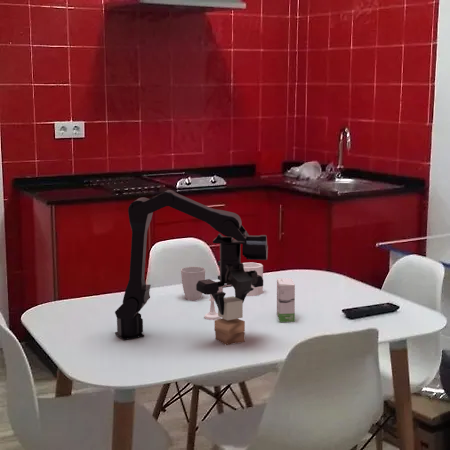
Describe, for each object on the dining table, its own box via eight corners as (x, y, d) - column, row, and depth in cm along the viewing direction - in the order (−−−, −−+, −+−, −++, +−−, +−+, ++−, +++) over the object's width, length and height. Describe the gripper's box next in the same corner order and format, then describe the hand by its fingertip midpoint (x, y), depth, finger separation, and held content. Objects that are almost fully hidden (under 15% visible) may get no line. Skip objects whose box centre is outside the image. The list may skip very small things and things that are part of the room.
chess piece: (211, 314, 238) (211, 283, 237) (223, 317, 235) (223, 285, 233) (201, 317, 235) (200, 286, 233) (213, 320, 232) (213, 289, 230)
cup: (210, 297, 257) (209, 268, 256) (196, 303, 251) (196, 273, 249) (190, 293, 262) (190, 265, 260) (176, 299, 255) (176, 270, 253)
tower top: (228, 335, 209) (228, 325, 209) (214, 330, 214) (214, 320, 213) (244, 331, 213) (244, 321, 212) (230, 326, 218) (230, 316, 217)
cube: (227, 320, 210) (227, 302, 209) (218, 315, 214) (218, 298, 213) (242, 317, 212) (242, 300, 211) (233, 313, 216) (233, 296, 215)
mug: (267, 293, 262) (267, 265, 260) (247, 297, 257) (247, 269, 255) (246, 286, 272) (247, 259, 270) (227, 289, 267) (227, 262, 265)
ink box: (295, 322, 230) (295, 284, 228) (278, 322, 230) (279, 284, 228) (291, 313, 238) (292, 277, 236) (275, 314, 238) (276, 277, 236)
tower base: (226, 346, 210) (226, 335, 209) (215, 340, 215) (215, 329, 214) (244, 342, 213) (244, 332, 212) (233, 336, 218) (233, 326, 217)
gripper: (215, 268, 198) (215, 326, 201) (274, 260, 208) (274, 315, 210) (195, 260, 208) (195, 315, 211) (252, 253, 217) (252, 305, 220)
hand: (230, 313), depth 213 cm, fingers closed on cube, 5 cm apart
